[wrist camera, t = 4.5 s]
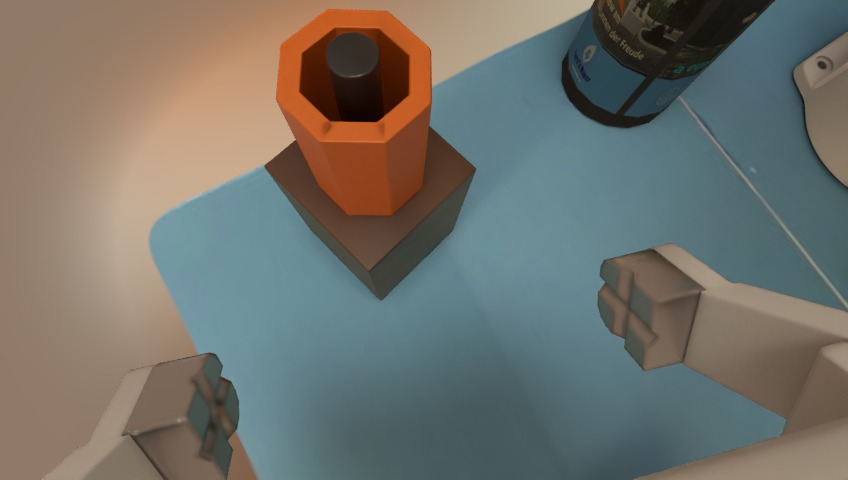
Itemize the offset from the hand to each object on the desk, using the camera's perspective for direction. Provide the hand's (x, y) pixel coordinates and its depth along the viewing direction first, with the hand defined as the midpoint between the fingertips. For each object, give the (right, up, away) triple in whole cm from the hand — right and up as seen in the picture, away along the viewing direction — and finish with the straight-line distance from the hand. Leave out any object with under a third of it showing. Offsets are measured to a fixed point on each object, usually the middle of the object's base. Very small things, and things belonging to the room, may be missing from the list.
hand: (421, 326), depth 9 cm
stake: (-3, +3, +26) cm, 26 cm away
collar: (-3, +6, +14) cm, 15 cm away
